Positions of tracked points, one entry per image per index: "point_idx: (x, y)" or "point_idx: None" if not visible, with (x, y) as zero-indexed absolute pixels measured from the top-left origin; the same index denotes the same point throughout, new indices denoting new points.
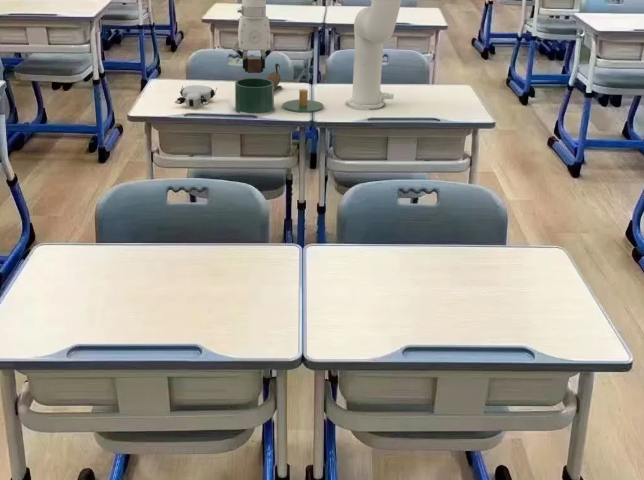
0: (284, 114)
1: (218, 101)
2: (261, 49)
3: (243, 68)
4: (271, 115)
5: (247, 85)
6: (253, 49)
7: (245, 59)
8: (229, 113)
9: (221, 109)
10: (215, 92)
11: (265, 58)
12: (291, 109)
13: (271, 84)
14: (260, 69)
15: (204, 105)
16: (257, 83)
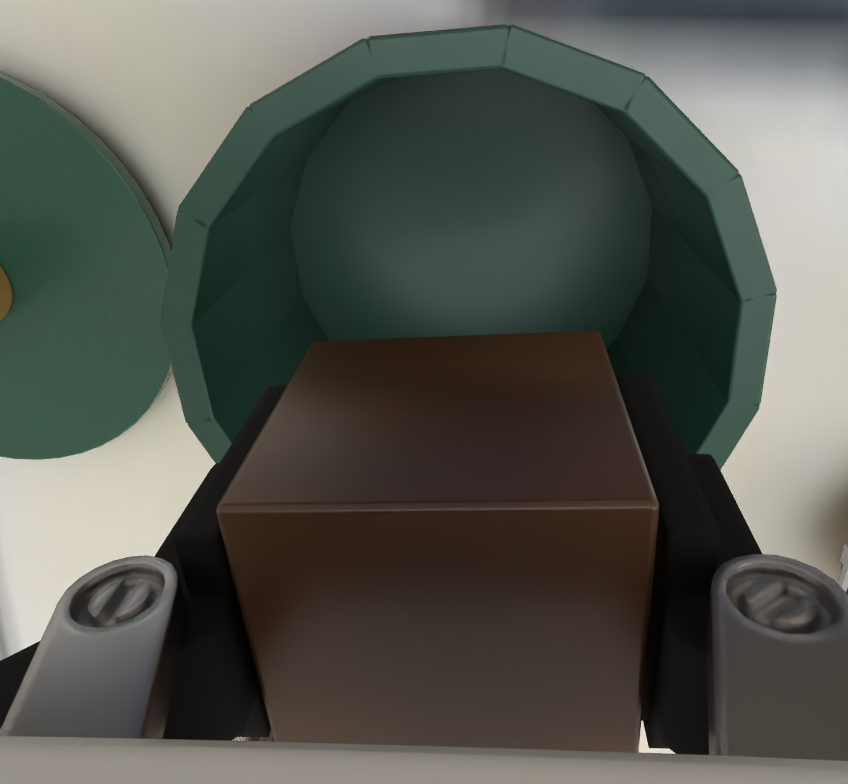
0: (152, 64)
1: (778, 527)
2: (5, 745)
3: (697, 456)
4: (293, 23)
5: None
6: (455, 764)
7: (715, 565)
8: (765, 119)
9: (817, 277)
10: (842, 580)
11: (99, 572)
12: (63, 119)
13: (189, 254)
14: (313, 370)
15: None
16: None
